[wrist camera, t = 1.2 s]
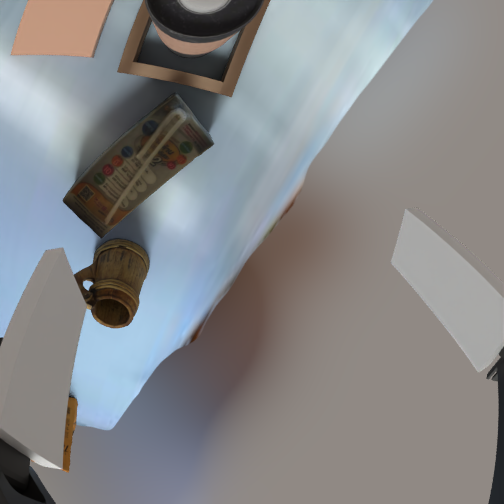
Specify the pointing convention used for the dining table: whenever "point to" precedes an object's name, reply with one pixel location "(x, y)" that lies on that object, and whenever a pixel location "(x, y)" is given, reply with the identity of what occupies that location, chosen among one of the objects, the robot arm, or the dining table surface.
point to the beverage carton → (137, 165)
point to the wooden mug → (114, 282)
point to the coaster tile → (61, 27)
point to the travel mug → (199, 23)
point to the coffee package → (69, 431)
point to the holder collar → (221, 87)
